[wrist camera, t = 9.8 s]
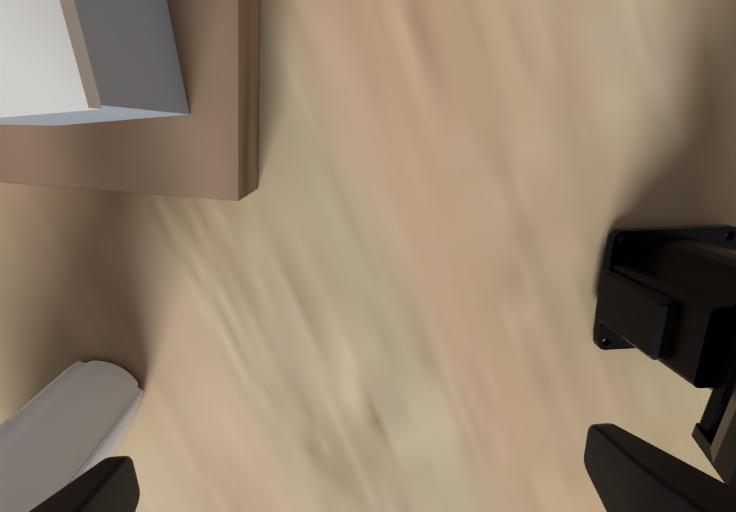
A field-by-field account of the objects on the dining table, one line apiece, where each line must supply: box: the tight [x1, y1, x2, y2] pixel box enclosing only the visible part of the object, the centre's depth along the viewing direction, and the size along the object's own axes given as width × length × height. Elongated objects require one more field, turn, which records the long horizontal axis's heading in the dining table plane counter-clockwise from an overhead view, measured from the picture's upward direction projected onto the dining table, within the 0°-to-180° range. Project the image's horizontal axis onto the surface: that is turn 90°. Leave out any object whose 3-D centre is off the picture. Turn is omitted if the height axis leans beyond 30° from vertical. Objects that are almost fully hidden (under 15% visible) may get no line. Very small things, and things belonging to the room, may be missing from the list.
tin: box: [0, 0, 190, 126], centre depth 11 cm, size 5×5×6 cm
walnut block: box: [0, 0, 260, 201], centre depth 15 cm, size 9×9×4 cm
